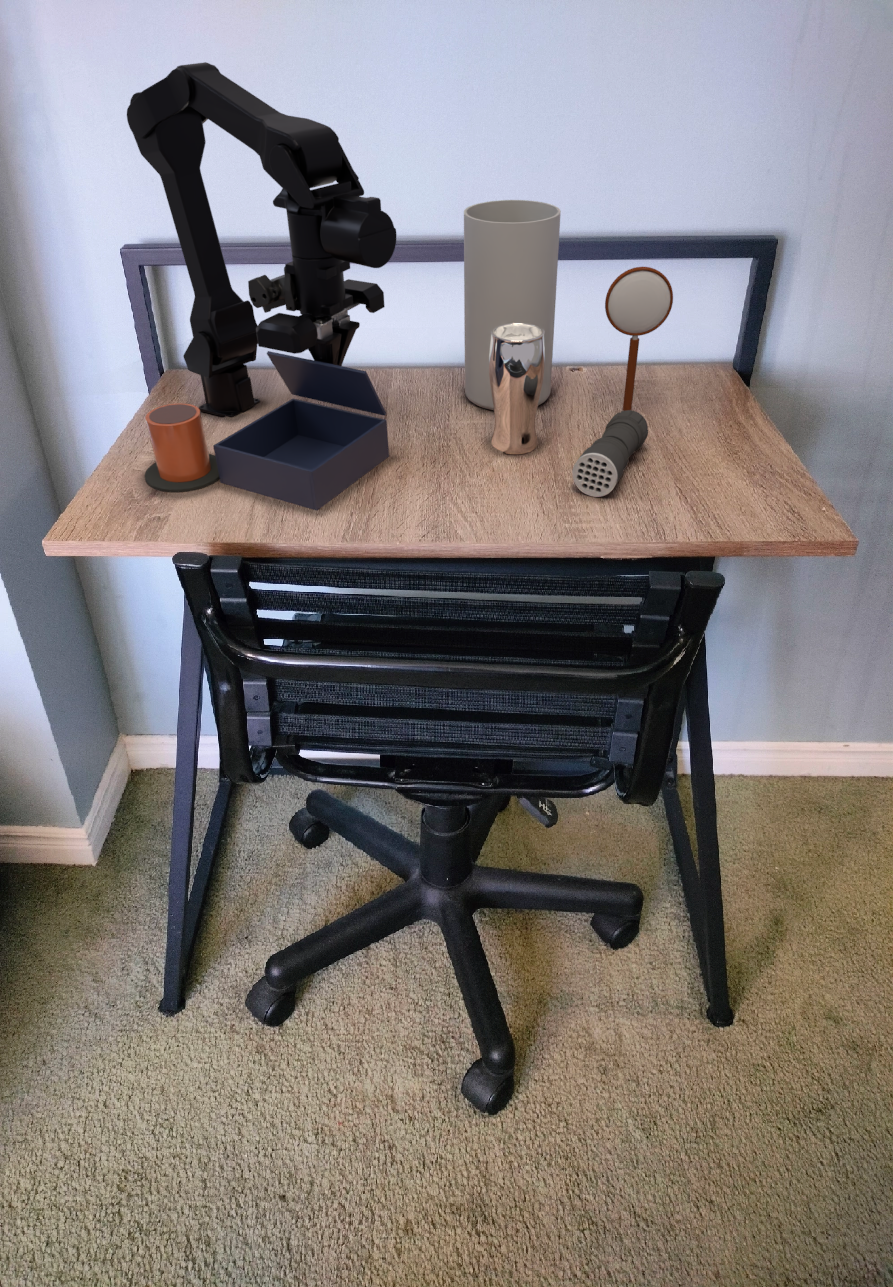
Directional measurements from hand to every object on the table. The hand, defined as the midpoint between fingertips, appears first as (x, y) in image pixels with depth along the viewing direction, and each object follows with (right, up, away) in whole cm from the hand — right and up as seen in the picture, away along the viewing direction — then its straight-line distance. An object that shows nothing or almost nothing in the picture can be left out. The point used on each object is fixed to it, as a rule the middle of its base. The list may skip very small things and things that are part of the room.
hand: (330, 383), depth 112 cm
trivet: (-18, -11, +1) cm, 22 cm away
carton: (-3, -11, +1) cm, 11 cm away
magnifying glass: (+40, -1, +12) cm, 42 cm away
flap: (0, 0, -1) cm, 1 cm away
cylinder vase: (+24, +3, +19) cm, 30 cm away
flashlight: (+35, -11, 0) cm, 37 cm away
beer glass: (+24, -7, +6) cm, 25 cm away
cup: (-18, -11, 0) cm, 21 cm away
